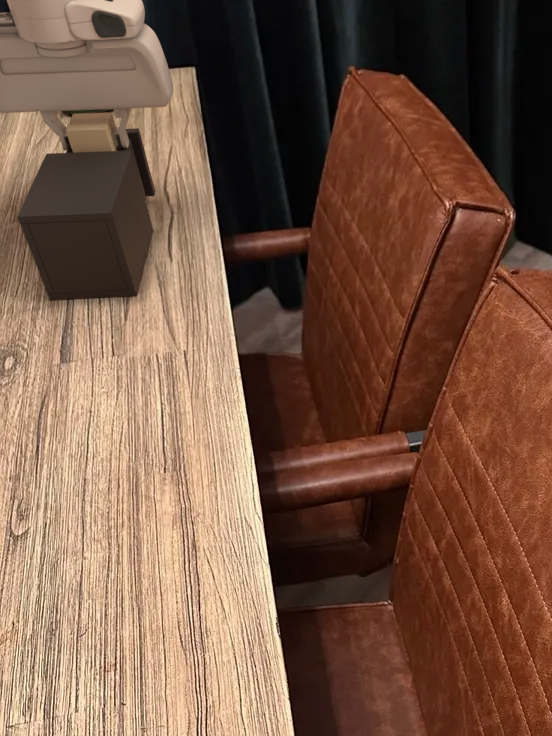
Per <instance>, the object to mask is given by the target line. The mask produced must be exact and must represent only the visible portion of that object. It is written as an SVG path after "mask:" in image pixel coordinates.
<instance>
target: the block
mask: <svg viewBox="0 0 552 736" xmlns="http://www.w3.org/2000/svg"><path fill="white" fill-rule="evenodd" d="M71 115H72V116H71V118H70V119H69V122H68V125H67V126H66V128H67V129H66V133H67V136H68V139H69V142H70V145H71V148H72V151H73V153H78V152H106V151H120V149H121V148H115V146H114V141H113V140H112V136H111V132H112V130H113V128H114V127H117V126H116V121H115V118H114V115H113V112H96V113H85V114H71Z"/></svg>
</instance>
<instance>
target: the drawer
mask: <svg viewBox="0 0 552 736" xmlns="http://www.w3.org/2000/svg"><path fill="white" fill-rule="evenodd" d="M126 131H127V135H128V139H129V146H128V148H121V149H120V151H132V153H133V157H134V160H135V164H136V168H137V171H138V175H139V179H140V182H141V186H142V190H143V193H144V197H145V201H146V202H147V200H148V199H147V197H155V195H156V189H155V185H154V181H153V177H152V173H151V169H150V165H149V161H148V158H147V154H146V151H145V146H144V143H143V139H142V135H141V131H140V128H138V127H137V128H136V127H135V128H126ZM65 153H73V151H72V150H65Z"/></svg>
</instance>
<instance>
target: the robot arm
mask: <svg viewBox="0 0 552 736" xmlns="http://www.w3.org/2000/svg"><path fill="white" fill-rule="evenodd" d="M6 2H7V5H8V8H9V10H10V11H9V12H0V114H8V113H9V114H10V113H13V114H14V113H32V112H33V113H37V112H40V115H41V118H42V121H43V122H44V123H45V124H46V126H47V127H48V128H50V130H52V132H53V133H54V134H55V135H56V136H58V137H59V140H60V143H61V147H62V149H63V151H67V150H72V148H71V145H70V142H69V139H68V136H67V133H66V129H67V126H66V125H65V124H64V123H63V122H62V121H61V119H60V118H59V117H58V115H59V113H60V112H63V111H64V112H66V111H68V110H96V109H112V110H113V113H114V117H115V118H116V119H120V122H119V125H118V126H116V127H114V128H113V130H112V132H111V136H112V140H113V141H114V146H115V148H128V146H129V139H128V135H127V131H126V129H127V126H128V122H129V118H130V116H131V115H130V114H131V112H132V111H131V110H132V109H145V108H146V109H147V108H149V109H151V108H152V109H153V108H165V107H167V106H168V104H169V103H170V101H171V99H172V98H173V94H174V84H173V78H172V74H171V72H170V67H169V66H168V65H169V64H168V62H167V59H166V56H165V53H164V50H163V48H162V44H161V42H160V40H159V38H158V35H157V34H156V32H155V31H154V30H153V29H152V28H151V27H150V26H149V25H147V24H146V23H145V18H146V10H145V5H144V2H143V0H6Z"/></svg>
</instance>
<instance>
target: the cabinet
mask: <svg viewBox="0 0 552 736" xmlns="http://www.w3.org/2000/svg"><path fill="white" fill-rule="evenodd" d="M16 218H17V221H18V223H19V225H20V227H21V230H22V232H23V235H24V239H25V240H26V243H27V245H28V249H29V251H30V253H31V256H32V258H33V260H34V264H35V266H36V269H37V271H38V273H39V276H40V279H41V281H42V284H43V287H44V288H45V291H46V294H47V296H48V299H49V300H50V301H55V300H57V301H58V300H59V301H60V300H78V299H100V298H103V299H104V298H123V297H124V298H125V297H137V296H138V293H139V290H140V285H141V281H142V277H143V274H144V270H145V267H146V262H147V258H148V254H149V250H150V247H151V243H152V239H153V236H154V226H153V224H152V219H151V216H150V213H149V208H148V204H147V200H146V201H145V197H144V193H143V190H142V186H141V182H140V179H139V175H138V171H137V168H136V164H135V160H134V157H133V153H132V151H106V152H78V153H66V152H56V153H55V152H53V153H46V154H45V156H44V158H43V160H42V161H41V164H40V166H39V169H38V171H37V173H36V175H35V177H34V179H33V181H32V183H31V186H30V188H29V190H28V192H27V194H26V195H25V199H24V201H23V203H22V205H21V207H20V209H19V211H18V213H17V216H16Z"/></svg>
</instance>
